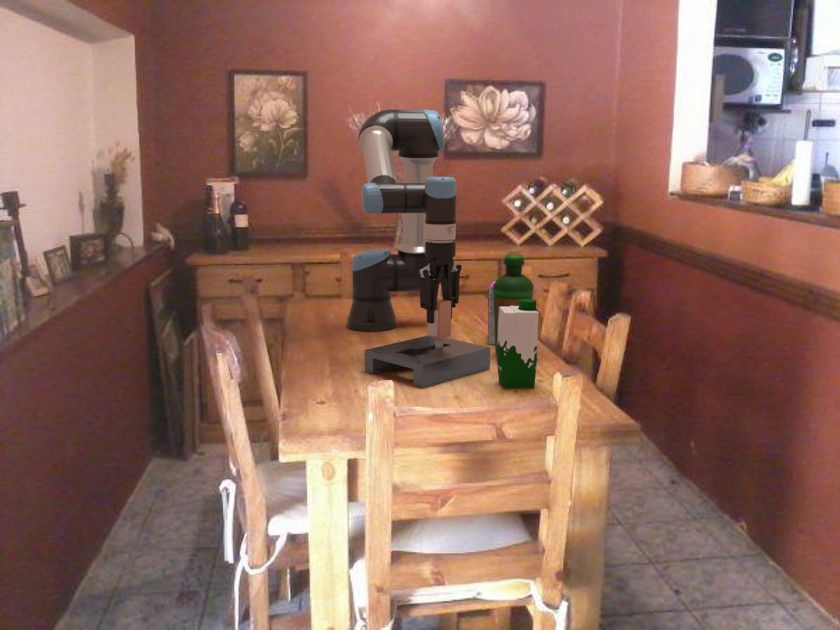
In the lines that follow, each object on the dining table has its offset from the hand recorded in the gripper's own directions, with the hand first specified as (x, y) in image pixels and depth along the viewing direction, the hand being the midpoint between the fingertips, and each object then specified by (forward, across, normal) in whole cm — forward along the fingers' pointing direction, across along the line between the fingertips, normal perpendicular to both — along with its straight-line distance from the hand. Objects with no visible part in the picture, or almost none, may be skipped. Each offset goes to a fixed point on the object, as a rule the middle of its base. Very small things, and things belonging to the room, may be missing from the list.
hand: (439, 334), depth 210 cm
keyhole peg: (+8, 0, 0) cm, 8 cm away
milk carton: (+9, +2, -23) cm, 25 cm away
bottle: (+9, +23, -5) cm, 25 cm away
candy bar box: (+9, +33, +8) cm, 35 cm away
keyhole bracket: (+9, -4, 0) cm, 10 cm away
